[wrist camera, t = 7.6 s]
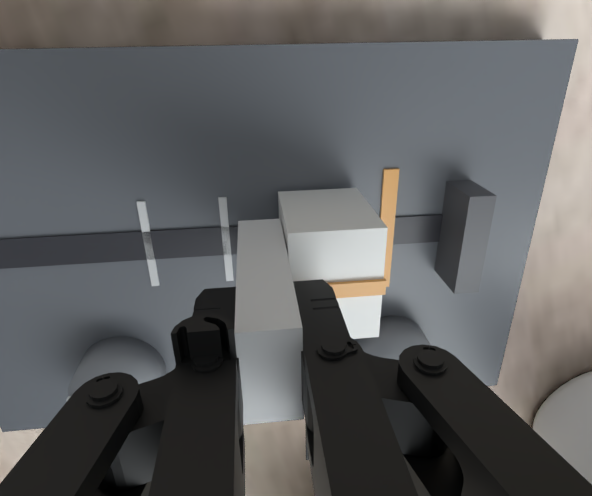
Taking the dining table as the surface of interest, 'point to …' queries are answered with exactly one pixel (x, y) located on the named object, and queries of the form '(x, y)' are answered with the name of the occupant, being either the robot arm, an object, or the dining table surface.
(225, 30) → the dining table surface
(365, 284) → the fader cap
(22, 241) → the console
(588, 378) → the milk bottle
